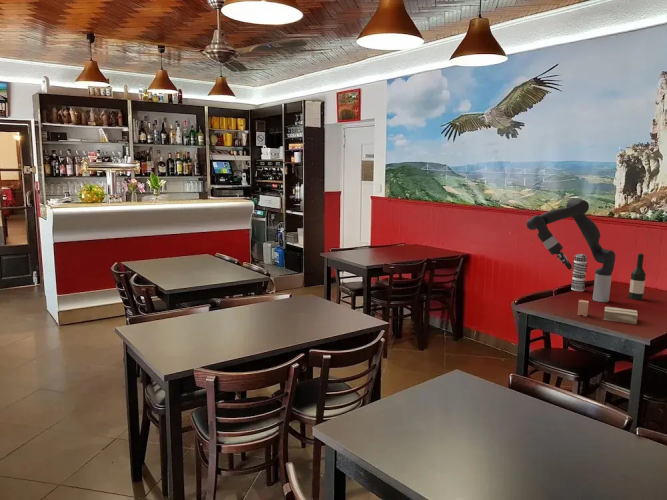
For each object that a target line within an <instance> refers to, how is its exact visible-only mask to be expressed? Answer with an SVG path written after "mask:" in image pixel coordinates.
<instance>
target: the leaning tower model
mask: <svg viewBox="0 0 667 500" xmlns="http://www.w3.org/2000/svg"><path fill="white" fill-rule="evenodd" d="M587 261H588V256H587V255H586V254H584V253H576V255H574V260H573V262H572V263H573V264H572V279H571V285H570V289H571V290H572V291H576V292H585V289H586V288H585V287H586V285H585V284H586V275H587V270H588V269H587V267H588V262H587Z"/></svg>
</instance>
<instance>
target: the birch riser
mask: <svg viewBox="0 0 667 500" xmlns="http://www.w3.org/2000/svg"><path fill="white" fill-rule="evenodd" d="M638 318H639V317H638V310H637V309H636V310H635V309H628V308H620V307H615V306H614V307H613V306H604V314H603V321H610V322H616V323H624V324H630V325H637V323H638Z"/></svg>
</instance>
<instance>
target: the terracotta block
mask: <svg viewBox="0 0 667 500" xmlns="http://www.w3.org/2000/svg"><path fill="white" fill-rule="evenodd" d="M577 303H578V305H577V316H580V315H583V316H582V317H588V313H589V312H588V311H589V303H590V302H589V300H584V299H578V302H577Z"/></svg>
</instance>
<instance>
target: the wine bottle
mask: <svg viewBox="0 0 667 500" xmlns="http://www.w3.org/2000/svg"><path fill="white" fill-rule="evenodd" d="M644 257H645V254H644V253H642V252H638V254H637V259H636V260H637V261H636V267H635V268H634V269H633V271H631V274H630V283H629V290H628V298H629V299H631V300H634V301H635V300H636V301H642V300H643V299H644V292H645V284H646V275H647V274H646V271H645V270H644V268H643V266H644Z"/></svg>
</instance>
